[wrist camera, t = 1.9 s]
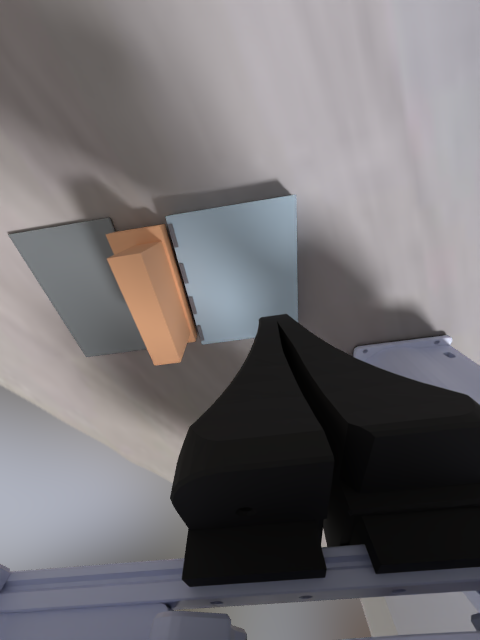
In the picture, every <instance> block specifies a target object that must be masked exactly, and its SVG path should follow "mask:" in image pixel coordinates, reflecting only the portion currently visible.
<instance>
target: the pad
mask: <svg viewBox="0 0 480 640" xmlns="http://www.w3.org/2000/svg"><path fill="white" fill-rule="evenodd" d="M113 232H116V231H115V229H114V226H113V224H112V221H111V219H110V218H104V219H98V220H92V221H86V222H80V223H74V224H68V225H62V226H56V227H50V228H44V229H38V230H33V231H27V232H21V233H15V234H9V237H10V238H11V240H12V242H13V243H14V245H15V246H16V248H17V249H18V251H19V253H20V254H21V256H22V257H23V259H24V260H25V262H26V264H27V265H28V267H29V268H30V270H31V271H32V273H33V275H34V276H35V278H36V279H37V281H38V282H39V284H40V286H41V287H42V289H43V290H44V292H45V293H46V295H47V296H48V298H49V300H50V301H51V303H52V304H53V306H54V307H55V309H56V311H57V312H58V314H59V315H60V317H61V318H62V320H63V322H64V323H65V325H66V326H67V328H68V329H69V331H70V333H71V334H72V336H73V337H74V339H75V340H76V342H77V344H78V345H79V347H80V348H81V350H82V351H83V353H84V354H85V356H86V357H91V356H99V355H106V354H114V353H122V352H129V351H137V350H144V349H147V348H146V345H145V343H144V341H143V339H142V337H141V334H140V332H139V330H138V328H137V325H136V323H135V321H134V319H133V316H132V314H131V312H130V310H129V308H128V305H127V303H126V301H125V299H124V296H123V294H122V292H121V290H120V287H119V285H118V283H117V281H116V279H115V276H114V274H113V272H112V270H111V267H110V265H109V263H108V261H107V258H109V257H111V256H113V255H114V253H113V251H112V249H111V246H110V244H109V242H108V239H107V237H106V234H109V233H113Z"/></svg>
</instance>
